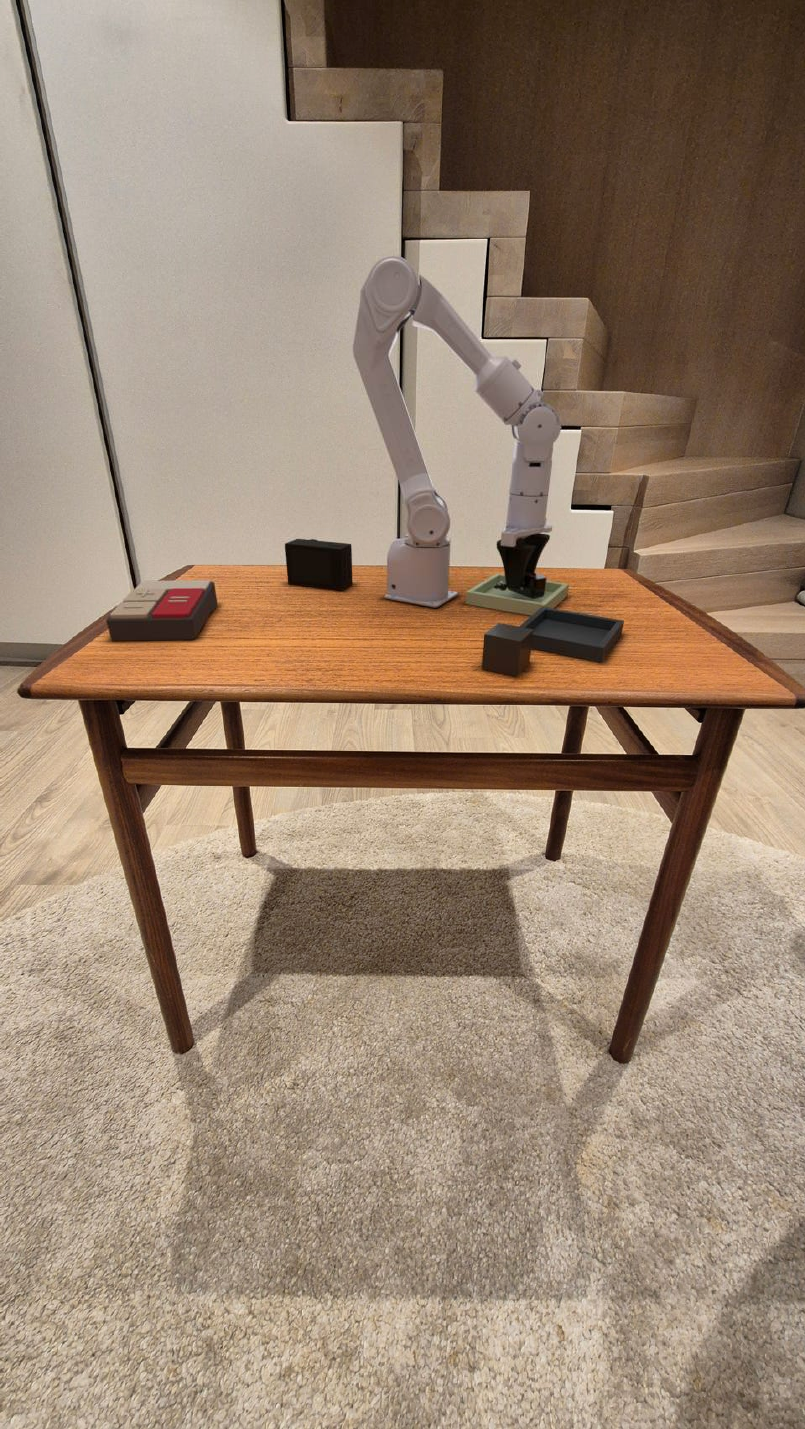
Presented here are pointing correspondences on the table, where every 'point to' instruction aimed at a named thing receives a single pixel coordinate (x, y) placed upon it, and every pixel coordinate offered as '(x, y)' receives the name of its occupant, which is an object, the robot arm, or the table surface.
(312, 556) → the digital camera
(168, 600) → the calculator
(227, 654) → the table surface
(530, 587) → the wireless earbuds
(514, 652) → the charcoal block
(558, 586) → the pale tray
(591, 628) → the dark tray
